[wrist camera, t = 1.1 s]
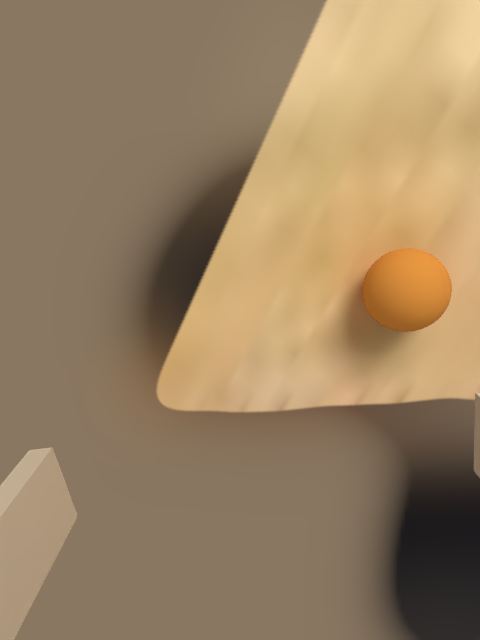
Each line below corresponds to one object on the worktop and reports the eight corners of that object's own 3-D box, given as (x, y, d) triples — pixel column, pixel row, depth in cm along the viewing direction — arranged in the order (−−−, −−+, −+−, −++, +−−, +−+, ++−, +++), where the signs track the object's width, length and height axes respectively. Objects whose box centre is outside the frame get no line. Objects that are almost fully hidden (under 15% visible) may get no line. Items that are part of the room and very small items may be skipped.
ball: (445, 261, 29) (486, 278, 24) (406, 327, 31) (437, 356, 26) (377, 230, 29) (404, 241, 24) (341, 299, 30) (359, 324, 25)
